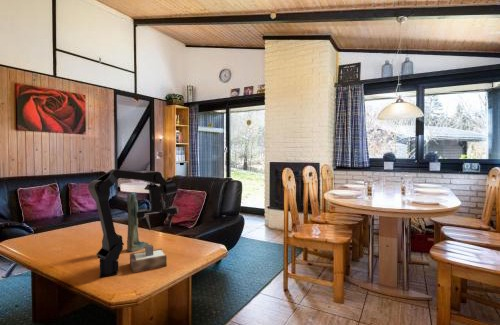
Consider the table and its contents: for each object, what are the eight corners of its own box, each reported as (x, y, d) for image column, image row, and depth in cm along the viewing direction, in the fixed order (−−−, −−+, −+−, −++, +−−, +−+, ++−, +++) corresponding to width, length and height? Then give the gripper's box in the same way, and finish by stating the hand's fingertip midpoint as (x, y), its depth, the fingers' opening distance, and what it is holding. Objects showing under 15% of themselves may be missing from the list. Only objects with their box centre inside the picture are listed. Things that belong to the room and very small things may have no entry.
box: (132, 272, 120) (132, 262, 120) (130, 263, 131) (129, 253, 131) (166, 266, 127) (166, 256, 126) (161, 257, 137) (161, 248, 137)
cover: (136, 262, 122) (135, 250, 122) (134, 256, 130) (133, 245, 130) (165, 257, 128) (164, 246, 128) (161, 251, 136) (161, 241, 135)
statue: (149, 246, 156) (147, 191, 155) (131, 252, 146) (130, 193, 146) (140, 244, 159) (139, 190, 158) (123, 250, 150) (121, 193, 149)
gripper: (178, 192, 146) (181, 222, 147) (140, 196, 144) (144, 226, 145) (175, 196, 135) (178, 228, 136) (134, 200, 133) (138, 233, 134)
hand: (159, 229), depth 138 cm, fingers open, 9 cm apart
